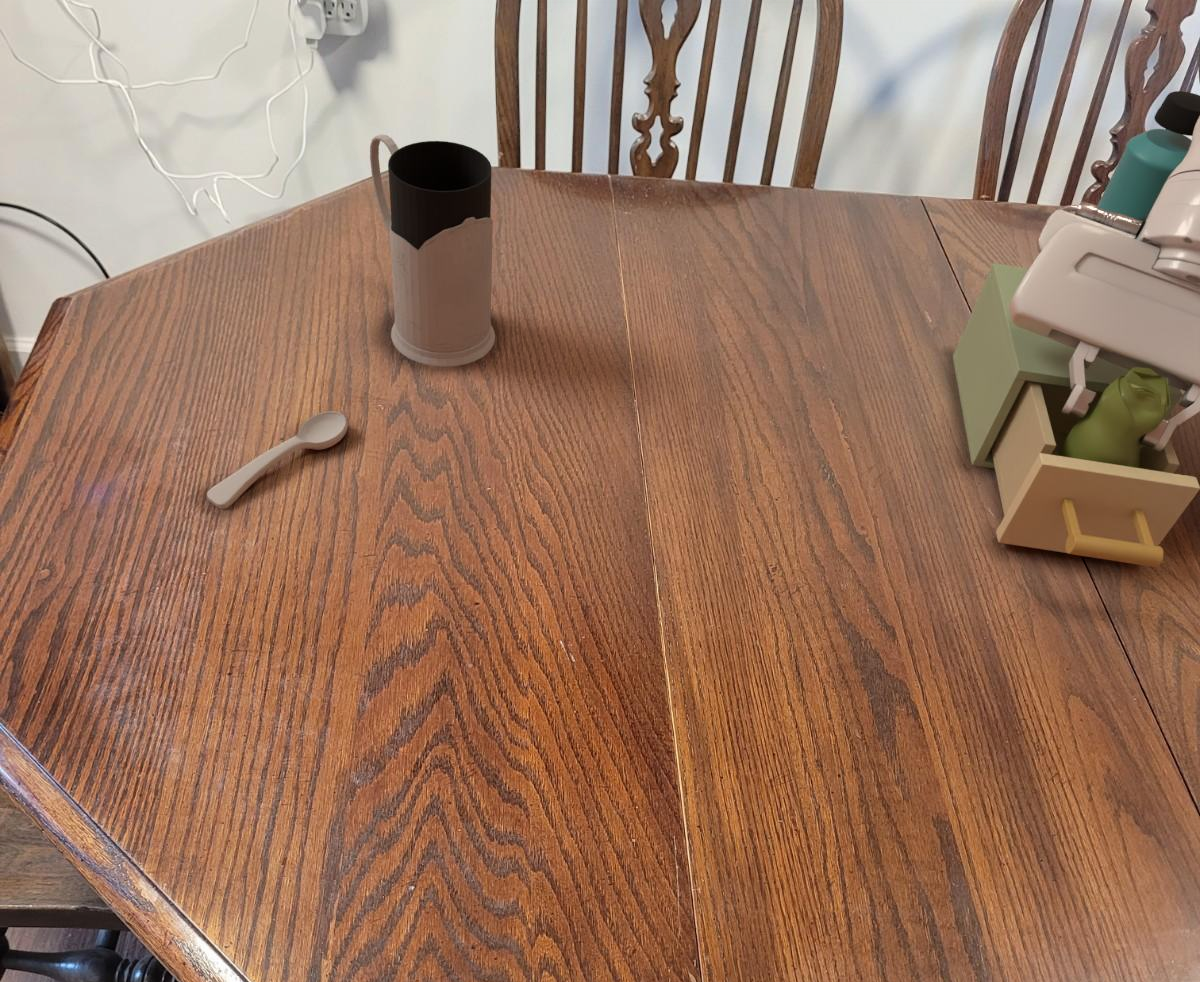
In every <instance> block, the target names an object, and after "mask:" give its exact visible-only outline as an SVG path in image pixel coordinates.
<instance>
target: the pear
mask: <svg viewBox="0 0 1200 982" xmlns="http://www.w3.org/2000/svg"><path fill="white" fill-rule="evenodd" d="M1169 394H1170V393H1169V386H1168V378H1166V377H1162V376H1160V375H1158V374H1157V373H1156V372H1154V371H1153V370H1152V369H1150V368H1140V367H1138V368H1136V367H1134V368H1132V369H1131V370H1130V371H1129V373H1128V374H1127V375H1126V376H1120V377H1119V378H1118V379H1116V380H1115V381H1114V382H1113V383H1111V384H1110V385H1109V386H1108V387H1107V388H1106V389H1105V391H1104V392H1103V394H1102V396H1101V398H1100V400H1099V402H1098V403H1097V404H1095V405H1094V406H1092V407H1091V408H1090V409H1088V411H1087V412H1086V414H1085V416H1084V417H1083V418H1082V420H1080V419H1079V420H1078V421H1077V423H1076V424H1075V425H1074V427H1073V428H1072V430H1071V431H1070V433H1069V434H1068V436H1067V438H1066V440H1065V441H1064V443H1063V446H1062V448H1061V451H1060V455H1059V456H1063V457H1069V458H1076V459H1082V460H1089V461H1096V462H1102V463H1109V464H1115V465H1122V466H1128V467H1135V468H1139V463H1140V445H1141V444H1140V439H1141V436H1142V435H1145V434H1147V433H1150V432H1152V431H1153V430H1155V429H1156V428H1157V427H1158V426H1159V425H1160V423H1161V422H1162V420H1163V419H1164V417H1165V415H1166V413H1167V412H1168V410H1169V408H1170V405H1171V403H1170V395H1169Z"/></svg>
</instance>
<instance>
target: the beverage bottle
mask: <svg viewBox="0 0 1200 982" xmlns="http://www.w3.org/2000/svg"><path fill="white" fill-rule="evenodd" d="M1199 116H1200V95H1199V94H1197V93H1193V92H1189V91H1181V90H1175V91H1171V92H1169V93H1168V94H1166V97H1165V98H1164V100H1163V101H1162V104H1161V105H1160V107H1159V108H1158V109H1157V111H1156V113H1155V114H1154V121H1155V122H1156V123H1157V125H1159V126H1160V127H1162V128H1153V129H1152V128H1151V129H1149V130H1146V131H1143V132H1141V133H1139V134H1136V135H1134V136H1133V137H1131V138H1129V139H1128V141H1127V143H1126V145H1125V149H1124V151H1123V153H1122V154H1121V157H1120V159H1119V161H1118V163H1117V165H1116V167H1115V169H1114V170H1113V173H1112V175H1111V177H1110V179H1109V181H1108V184H1107V185H1106V187H1105V189H1104V191H1103V193H1102V196H1101V197H1100V199H1099V201H1098V204H1097V206H1099V208H1101V209H1104V210H1105V211H1106V210H1107V211H1109V212H1113V213H1117V214H1118V213H1119V214H1123V215H1126V216H1129V217H1132V218H1135V219H1138V220H1140V221H1146V219H1147V217H1148V215H1149V213H1150V211H1151V209H1152V207H1153V205H1154V203H1155V202H1156V200H1157V198H1158V196H1159V194H1160V192H1161V190H1162V188H1163V186H1164V184H1165V182H1166V180H1167V179H1168V177H1169V176H1170V174H1171V173H1172V172H1173V171H1174V170H1175V168H1176V167H1177V166H1178V165H1179V164H1180V163H1181V162H1182V161H1183V159H1184V158H1185V156H1186V155H1187V153H1188V151H1189V148H1190V145H1191V141H1192V138H1189V137H1192V136H1193V131H1194V128H1195V125H1196V122H1197V120H1198V118H1199ZM1188 136H1189V137H1188ZM1135 239H1137V237H1135Z"/></svg>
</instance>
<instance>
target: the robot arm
mask: <svg viewBox="0 0 1200 982" xmlns="http://www.w3.org/2000/svg"><path fill="white" fill-rule="evenodd" d="M1197 63H1198V65H1197V66H1198V67H1197V68H1198V79H1199V83H1200V45H1199V47H1198V62H1197ZM1191 140H1192V141H1191V145H1190V148H1189V151H1188V153H1187V155H1186V156H1185V158H1184V159H1183V161H1182V162H1181V163H1180V164H1179V165H1178V166H1177V167H1176V168H1175V170H1174V171H1173V172H1172V173H1171V174H1170V176H1169V177H1168V179H1167V180H1166V182H1165V184H1164V186H1163V188H1162V190H1161V192H1160V194H1159V196H1158V198H1157V200H1156V202H1155V203H1154V205H1153V207H1152V209H1151V211H1150V213H1149V215H1148V217H1147V219H1146V221H1140V220H1138V219H1135V218H1132V217H1129V216H1126V215H1123V214H1119V213H1118V214H1117V213H1113V212H1109V211H1107V210H1106V211H1105V210H1104V209H1101V208H1099V206H1098V204H1095V203H1092V202H1091V203H1090V202H1086V201H1080V203H1079V204H1078V205H1077V204H1068V205H1063V206H1061V207H1059V208H1057V209H1056V210H1054V211H1052V213H1051V214H1050V215H1049V216H1048V217H1047V219H1046V221H1045V223H1044V225H1043V227H1042V229H1041V231H1040V233H1039V235H1038V237H1037V242H1036V248H1037V252H1038V255H1037V257H1036V258H1035V259H1034V261H1033V262H1032V264H1031V265H1030V267H1029V270H1028V272H1027V273H1026V275H1025V276H1024V278H1023V280H1022V281H1021V283H1020V285H1019V287H1018V288H1017V290H1016V292H1015V294H1014V296H1013V298H1012V300H1011V303H1010V306H1009V313H1010V316H1011V320H1012V323H1013V324H1014V325H1016V326H1018V327H1020V328H1023V329H1026V330H1028V331H1031V332H1033V333H1036V334H1039V335H1041V336H1044V337H1046V338H1049V339H1052V340H1054V341H1057V342H1059V343H1062V344H1065V345H1067V346H1070V347H1072V348H1075V349H1076V350H1075V352H1074V353H1073V355H1072V357H1071V359H1070V361H1069V372H1070V384H1071V389H1072V392H1071V394H1070V396H1069V398H1068V400H1067V402H1066V404H1065V406H1064V408H1063V410H1062V412H1063V413H1065V414H1068V415H1070V416H1073V417H1075V418H1078V419H1080V420H1082V418H1083V417H1084V416H1085V414H1086V412H1087V411H1088V409H1089V405H1090V404H1091V402H1092V401H1093V399H1094V397H1095V395H1096V393H1095V392H1093V391H1090V390H1088V389H1085V388H1086V385H1085V369H1088V368H1089V367H1090V365H1091V364H1092V363H1093V361H1094V359H1095V357H1098V358H1101V359H1103V360H1106V361H1109V362H1111V363H1114V364H1116V365H1119V366H1122V367H1124V368H1127V369H1129V370H1131V369H1132V368H1134V367H1136V368H1138V367H1140V368H1150V369H1152V370H1153V371H1154V372H1156V373H1157V374H1158V375H1160V376H1162V377H1166V378H1168V385H1171V386H1173V387H1176V388H1179V389H1180V390H1182V391H1183V392H1184V393H1183V394H1182V397H1181V399H1180V400H1179V402H1178V405H1179V406H1180V407H1182V408H1184V409H1183V410H1182V411H1179V412H1178V413H1177V414H1175V415H1174V416H1172V417H1171V418H1169V419H1167V420H1164V419H1163V420H1162V422H1161V423H1160V425H1159V426H1158V427H1157V428H1156V429H1155V430H1153V431H1152V432H1150V433H1147V434H1145V435H1142V437H1141V439H1140V444H1143V445H1145V446H1147V447H1150V448H1152V449H1154V450H1157V451H1161V450H1162V449H1163V448H1164V447H1165V445H1166V444H1167V442H1168V440H1169V438H1170V439H1171V436H1172V435H1173V433H1174V431H1175V429H1176V428H1177V427H1179V426H1180V425H1182V424H1184V423H1185V422H1187V421H1188V420H1190V419H1191V418H1193V417H1194V416H1196V415H1198V413H1200V116H1199V118H1198V120H1197V122H1196V125H1195V128H1194V131H1193V136H1191ZM1072 212H1074V213H1072ZM1135 237H1137V239H1135Z"/></svg>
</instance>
